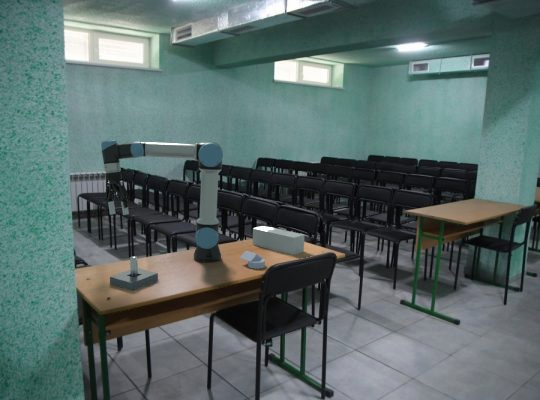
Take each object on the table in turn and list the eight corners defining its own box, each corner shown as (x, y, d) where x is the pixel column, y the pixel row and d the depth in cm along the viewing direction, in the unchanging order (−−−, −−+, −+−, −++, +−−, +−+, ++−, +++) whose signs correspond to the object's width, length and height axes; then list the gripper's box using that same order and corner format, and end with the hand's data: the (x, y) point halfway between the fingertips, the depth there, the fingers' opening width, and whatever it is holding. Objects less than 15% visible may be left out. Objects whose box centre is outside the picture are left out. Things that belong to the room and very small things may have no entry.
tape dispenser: (239, 263, 234) (256, 269, 225) (239, 251, 233) (256, 257, 224) (251, 260, 240) (268, 266, 231) (251, 249, 239) (268, 254, 230)
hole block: (136, 274, 211) (136, 267, 211) (157, 280, 205) (157, 273, 204) (110, 284, 198) (109, 276, 197) (132, 290, 191) (132, 283, 190)
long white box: (252, 244, 274) (252, 228, 272) (263, 241, 282) (263, 225, 280) (293, 255, 254) (294, 237, 252) (303, 251, 262) (304, 234, 260)
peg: (134, 280, 203) (133, 255, 201) (139, 281, 202) (138, 257, 200) (129, 282, 201) (128, 257, 199) (134, 283, 199) (133, 258, 197)
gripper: (94, 174, 220) (100, 215, 222) (118, 171, 203) (124, 215, 205) (108, 172, 225) (114, 212, 227) (132, 169, 208) (138, 213, 210)
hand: (119, 214), depth 216 cm, fingers open, 13 cm apart
